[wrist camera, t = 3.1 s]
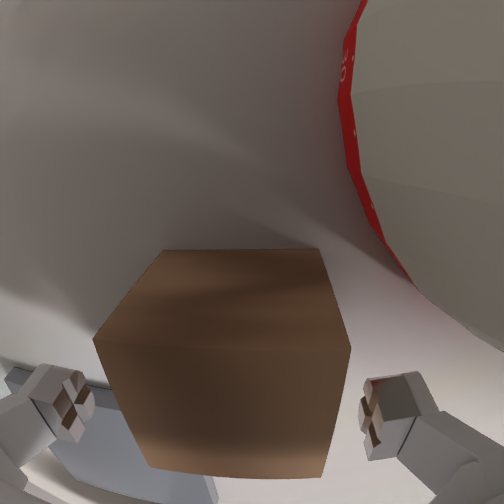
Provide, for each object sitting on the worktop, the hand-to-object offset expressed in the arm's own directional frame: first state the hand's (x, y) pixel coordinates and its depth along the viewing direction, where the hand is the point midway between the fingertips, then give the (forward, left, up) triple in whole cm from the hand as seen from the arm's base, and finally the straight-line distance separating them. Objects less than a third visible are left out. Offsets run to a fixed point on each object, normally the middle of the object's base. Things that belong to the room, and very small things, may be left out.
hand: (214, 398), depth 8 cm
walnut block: (-1, -1, -4) cm, 4 cm away
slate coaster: (+7, +9, -3) cm, 13 cm away
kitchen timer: (-11, -8, -4) cm, 13 cm away
